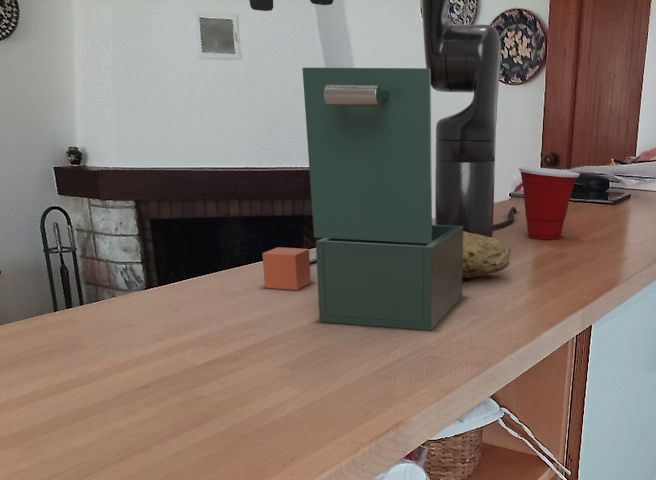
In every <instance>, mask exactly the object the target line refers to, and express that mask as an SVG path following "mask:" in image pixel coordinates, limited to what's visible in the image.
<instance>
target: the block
mask: <svg viewBox="0 0 656 480" xmlns="http://www.w3.org/2000/svg"><path fill="white" fill-rule="evenodd" d="M309 255H310V249H309V248H299V247H298V248H297V247H281V246H280V247H275V248H273V249H269V250H267V251H264V252H262V263H263V264H262V267H263V268H262V269H263V278H264V279H263V280H264V281H263V282H264V288H265V289H274V290H275V289H276V290H288V291H289V290H290V291H299V290H301V289H302V288H304V287H306V286H307V285H309V284H311V283H312V281H311V263H310V257H309Z"/></svg>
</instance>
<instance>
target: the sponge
mask: <svg viewBox="0 0 656 480" xmlns="http://www.w3.org/2000/svg"><path fill="white" fill-rule="evenodd" d="M510 252H511V248H510V247H508V246H507V245H506V244H504V242H503V241H502V240H501V239H497V238H495V237H493V238H491V237H487V236H483V235H479V234H473V233H468V232H465V231H463V267H462V279H470V278H477V277H482V276H486V275H489V274H494V273H498V272H500V271H503V270H505V269H507V268H508V267H509V266H510V265H511V262H510V254H511V253H510Z"/></svg>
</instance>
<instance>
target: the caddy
mask: <svg viewBox="0 0 656 480" xmlns="http://www.w3.org/2000/svg"><path fill="white" fill-rule="evenodd" d="M315 253H316V257H317V260H316V274H317V275H316V277H317V296H318V315H319V322H320V323H329V324H340V325H341V324H342V325H343V324H344V325H355V326H368V327H380V328H381V327H382V328H392V329H393V328H395V329H406V330H420V331H421V330H422V331H432V330H433V329H434V328H435V327H436V326H437V325H438V324H439V322H440V321H441V320H442V319H443V318H444V317H445V316H446V315H447V314H448V313H449V312H450V311H451V310H452V308H454V306H456V304H457V303H458V302H459V301H461V299H462V298H463V278H462V267H463V226H454V225H435V223H434V224H433V223H432V242H431V243H430V244H426V243H407V242H388V241H370V240H351V239H332V238H319V239H318V240H316V241H315Z"/></svg>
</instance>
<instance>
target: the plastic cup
mask: <svg viewBox="0 0 656 480" xmlns="http://www.w3.org/2000/svg"><path fill="white" fill-rule="evenodd" d="M518 171H519V172H520V175H521V182H522V183H521V184H522V186H521V187H522V188H523V189H522V191H523V203H524V212H525V213H524V214H525V219H526V226H527V233H528V237H529V238H532V239H539V240H557V239H560V238H561V235H562V232H563V227H564V223H565V219H566V216H567V212H568V208H569V204H570V201H571V197H572V191H573V190H574V186H575V184H576V181H577V179H578V178H579V177H580V174H581V173H579V172H575V171H569V170H562V169H555V168H547V167H546V168H545V167H535V166H533V167H532V166H520V167H518Z"/></svg>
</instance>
